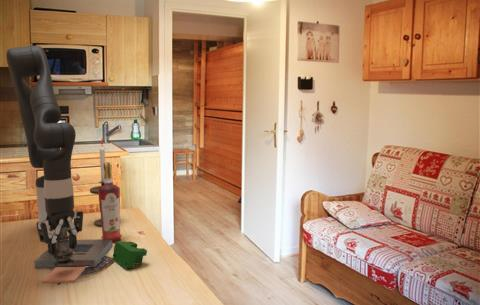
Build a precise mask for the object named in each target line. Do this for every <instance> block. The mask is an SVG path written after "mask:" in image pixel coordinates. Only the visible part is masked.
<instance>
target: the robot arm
mask: <svg viewBox="0 0 480 305" xmlns="http://www.w3.org/2000/svg"><path fill="white" fill-rule="evenodd" d="M5 54H6V62H7V67H8V70H9V75H10V77H11V81H12V83H13V86H14V90H15V94H16V99H17V104H18V109H19V114H20V120H21V123H22V127H23V130H24V134H25V138H26V145H27V152H28V158H29V163H30V165H31V166H32V168H34V169H43V175H42V176H39V177H37V178H36V179H35V192H36V203H37V214H38V215H37V216H38V221H37V222H36V223H35V225H36V230H37V233H38V238H39V242H41V243H45V244H46V245H47V250H48V253H49V254H50V255H52V256H55V255H57V249H56V242H57V241H56V238H57V235H59V232H60V230H61V229H62V228H65V227H66V228H67V235H68V237H69V239H68V240H69V247H70V248H76V245H77V240H78V238H77V235H78V233H79V232H80V233H81V232H82V231H83V224H84V223H83V221H84V211H82V210H77V209H75V197H74V184H73V179H72V164H71V161H72V156H73V151H74V150H73V149H74V146H75V141H76V136H77V135H76V133H77V132H76V129H75V127H74V126H73V125H72V124H71V123H69V122H60V120H61V118H62V112H61V109H60V107H59V104H58V103H59V102H58V100H57V97H56V95H55V90H54V85H53V80H52V79H53V78H52V74H51V70H50V65H49V61H48V57H47V54H46V52H45V50H44V49H43V47H42V46H40V45H28V46H17V47H11V48H8V49H7V50H6V53H5ZM32 77H39V78H38V80H37V81H36V84H35V86H33V88H32V87H31V86H30V85H29V84H28V83H27V81H26V80H25V78H32ZM74 209H75V211H74Z"/></svg>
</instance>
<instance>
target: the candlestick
mask: <svg viewBox="0 0 480 305" xmlns="http://www.w3.org/2000/svg"><path fill="white" fill-rule="evenodd" d="M103 143H104V137H102V139H101V141H100V148H99V163H100V164H99V165H100V177H101V178H100V181H98V183H99V184H100V185H98V186H93V187H91V188H89V193H90V194H93V195H98V189H99V188H100V187H101V186H103V185H104V174H105V171H104V163H105V162H106V149H105V148H104V145H103ZM93 224H94V226H95V227H98V228H102V223H101V218H99V219H97V220H95V221H94V222H93Z"/></svg>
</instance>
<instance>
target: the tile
mask: <svg viewBox="0 0 480 305" xmlns="http://www.w3.org/2000/svg"><path fill="white" fill-rule="evenodd" d="M85 268H86V267H56V268H52V270H51V271H50V272H49V273H48V274H47V275H46V276H45V277H44V278H43V279H42V281H41V282H42V283H75V282H76V281H77V280H78V279H79V278H80V277H81V275H82V274H83V273H84V272H83V270H84V269H85ZM86 269H87V268H86ZM82 272H83V273H82ZM81 273H82V274H81Z"/></svg>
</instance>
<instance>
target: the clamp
mask: <svg viewBox="0 0 480 305" xmlns="http://www.w3.org/2000/svg"><path fill="white" fill-rule="evenodd" d="M147 254H148V249H146V248H139V247H138V244H137V243H136V242H135V241H124V240H123V241H119V240H118V241H115V242H114V247H113V253H112V259H113V260H114V261H115V263H117V264H119V265H120V266H122V268H124V269H125V270H127V269H130V270H131V269H132V270H133V269H134V267H135V265H136V264H138V265H139V264H142V263H143V259H144V257H146V256H147Z"/></svg>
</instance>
